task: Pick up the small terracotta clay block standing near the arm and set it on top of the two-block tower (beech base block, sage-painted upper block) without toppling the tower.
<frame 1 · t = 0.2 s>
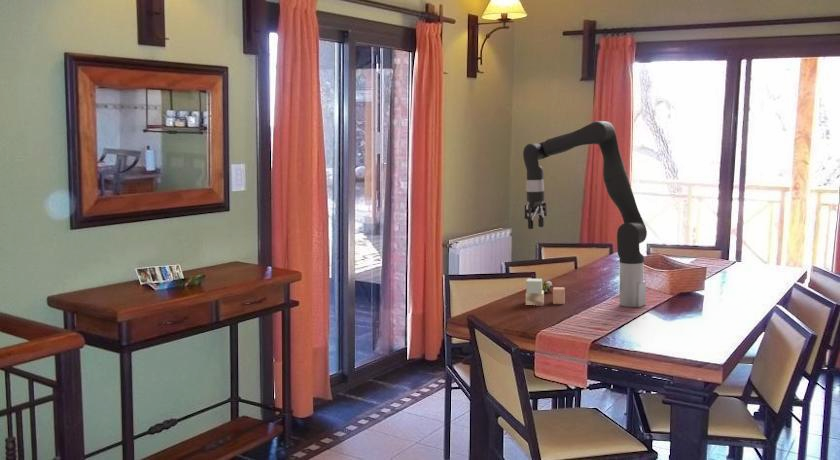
hand: (536, 227, 336), 29 cm above the table, fingers open, 8 cm apart
toy: (541, 294, 339), on the table
tower base: (534, 304, 319), on the table, touching tower top
tower top: (534, 292, 318), point 5 cm above the table, touching tower base
clay block: (558, 302, 319), on the table
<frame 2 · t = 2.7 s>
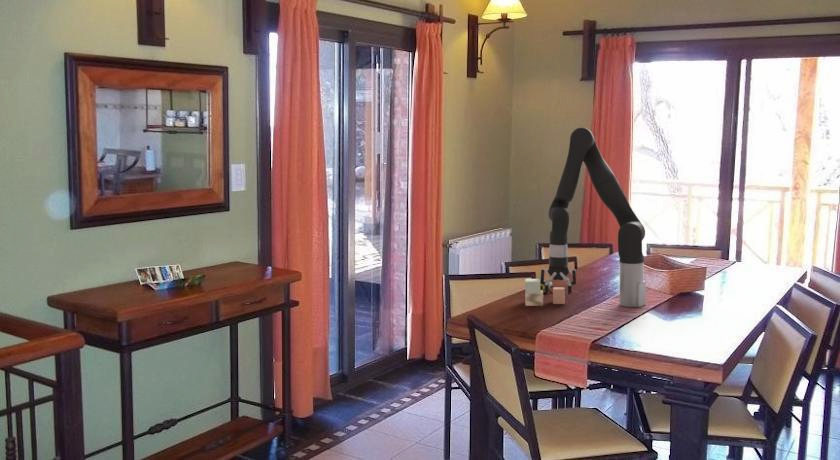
hand: (558, 294, 319), 3 cm above the table, fingers open, 8 cm apart
tower base: (534, 304, 318), on the table
tower top: (532, 292, 318), point 5 cm above the table
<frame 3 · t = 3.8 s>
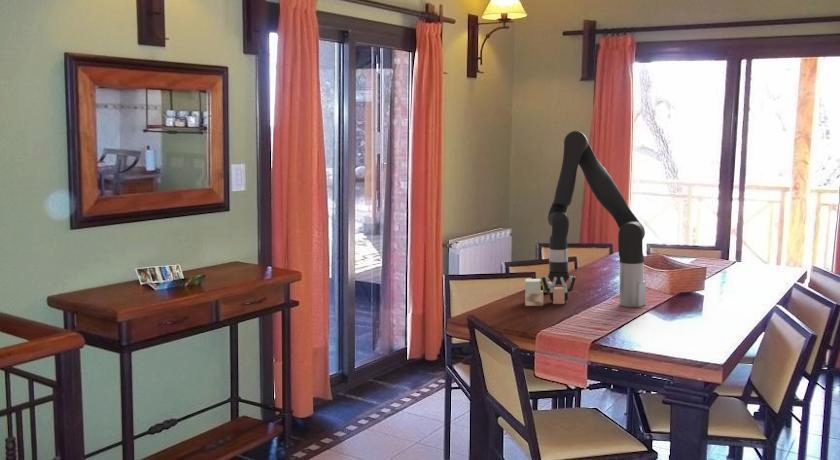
hand: (558, 301, 319), 1 cm above the table, fingers closed on clay block, 4 cm apart
tower base: (534, 304, 318), on the table, touching tower top
tower top: (533, 292, 318), point 5 cm above the table, touching tower base
clay block: (559, 302, 319), on the table, touching gripper
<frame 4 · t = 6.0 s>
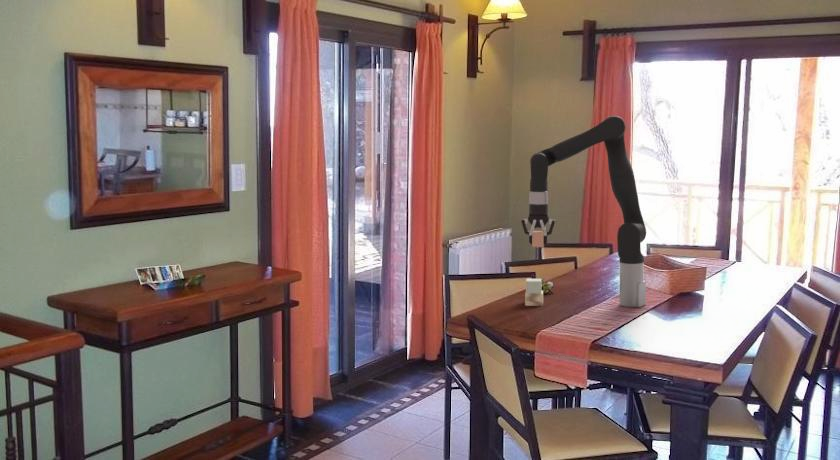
hand: (538, 244, 317), 24 cm above the table, fingers closed on clay block, 4 cm apart
tower base: (534, 304, 318), on the table
tower top: (534, 292, 318), point 5 cm above the table
clay block: (538, 246, 317), point 24 cm above the table, touching gripper
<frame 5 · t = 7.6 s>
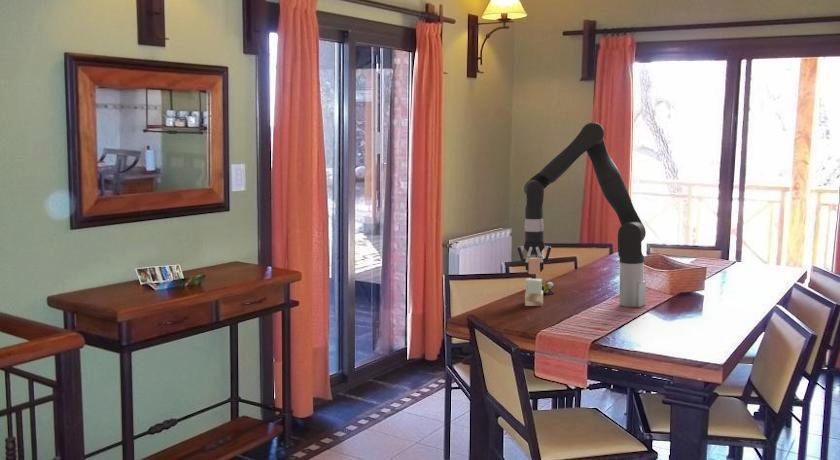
hand: (534, 271, 317), 13 cm above the table, fingers closed on clay block, 4 cm apart
tower base: (534, 304, 318), on the table, touching tower top
tower top: (534, 292, 318), point 5 cm above the table, touching tower base
clay block: (534, 273, 317), point 13 cm above the table, touching gripper
when the fingers open (11 cm above the table, at t = 8.4 s): clay block stays where it is, resting on tower top.
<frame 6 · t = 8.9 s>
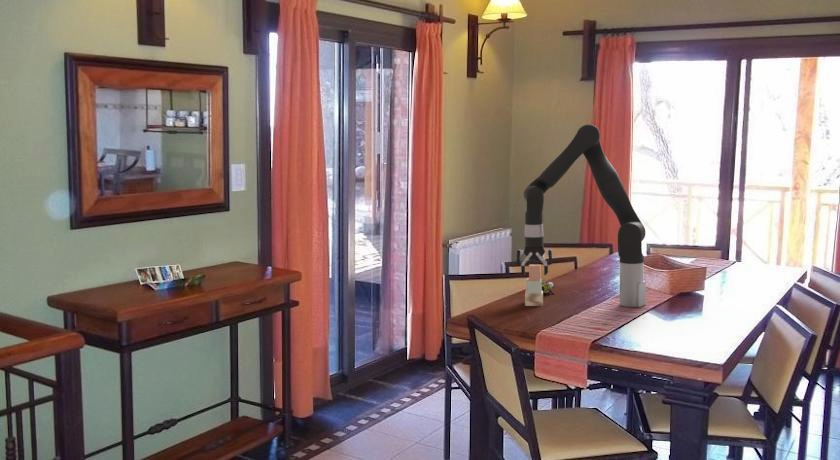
hand: (534, 274, 317), 12 cm above the table, fingers open, 8 cm apart
tower top: (534, 292, 318), point 5 cm above the table, touching clay block, tower base
clay block: (535, 279, 317), point 10 cm above the table, touching tower top
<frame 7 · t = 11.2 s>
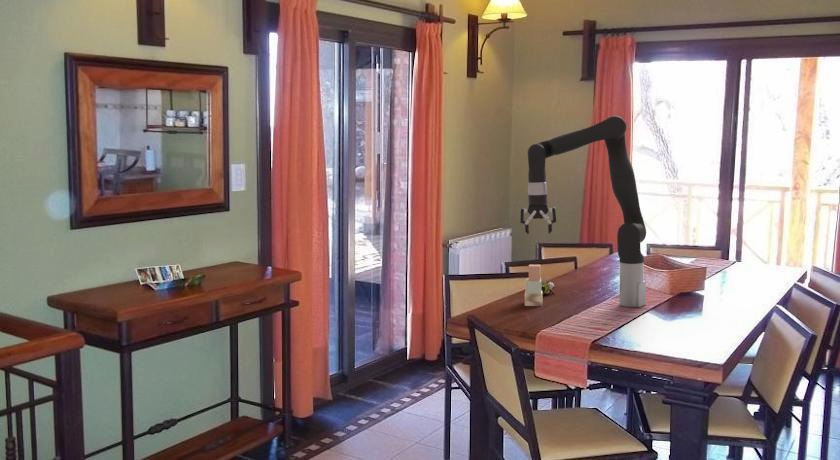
hand: (538, 233, 316), 29 cm above the table, fingers open, 8 cm apart
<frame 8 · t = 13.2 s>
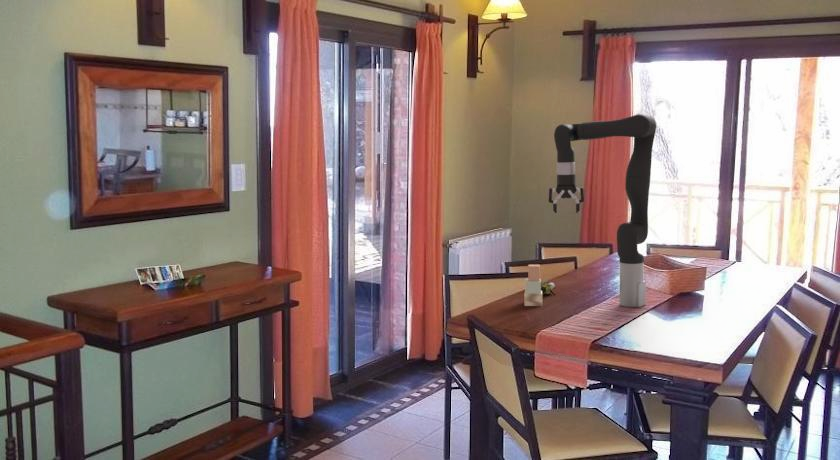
hand: (566, 212, 322), 36 cm above the table, fingers open, 8 cm apart
at the end: clay block 0.5 cm off-centre on the tower base, point 10.0 cm above the tower base's base; clay block tilted 0°; tower top 0.1 cm off-centre on the tower base, point 5.0 cm above the tower base's base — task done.
